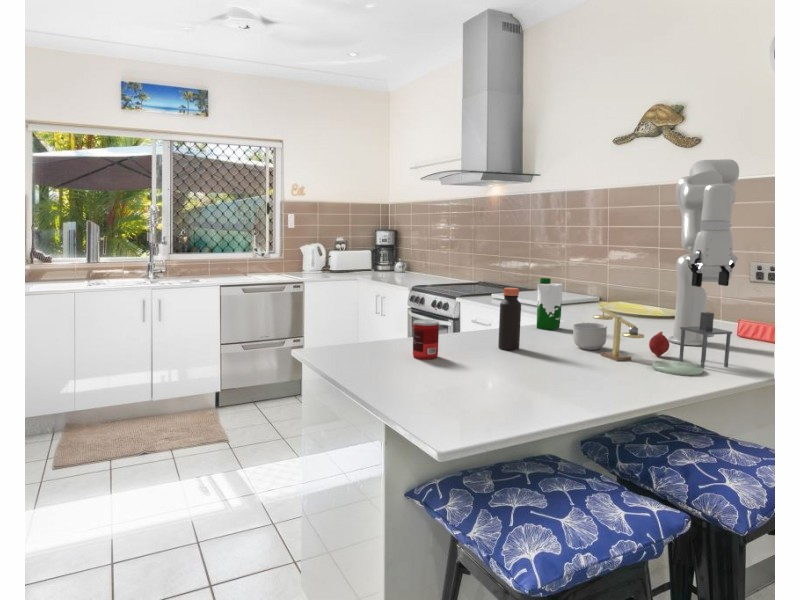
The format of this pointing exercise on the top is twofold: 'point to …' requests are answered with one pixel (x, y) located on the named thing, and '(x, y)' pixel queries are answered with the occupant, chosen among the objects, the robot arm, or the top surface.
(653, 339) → the onion
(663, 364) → the dish
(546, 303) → the milk carton
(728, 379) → the top surface
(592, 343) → the teacup
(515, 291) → the bottle
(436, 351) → the canned food
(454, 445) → the top surface
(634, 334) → the balance
